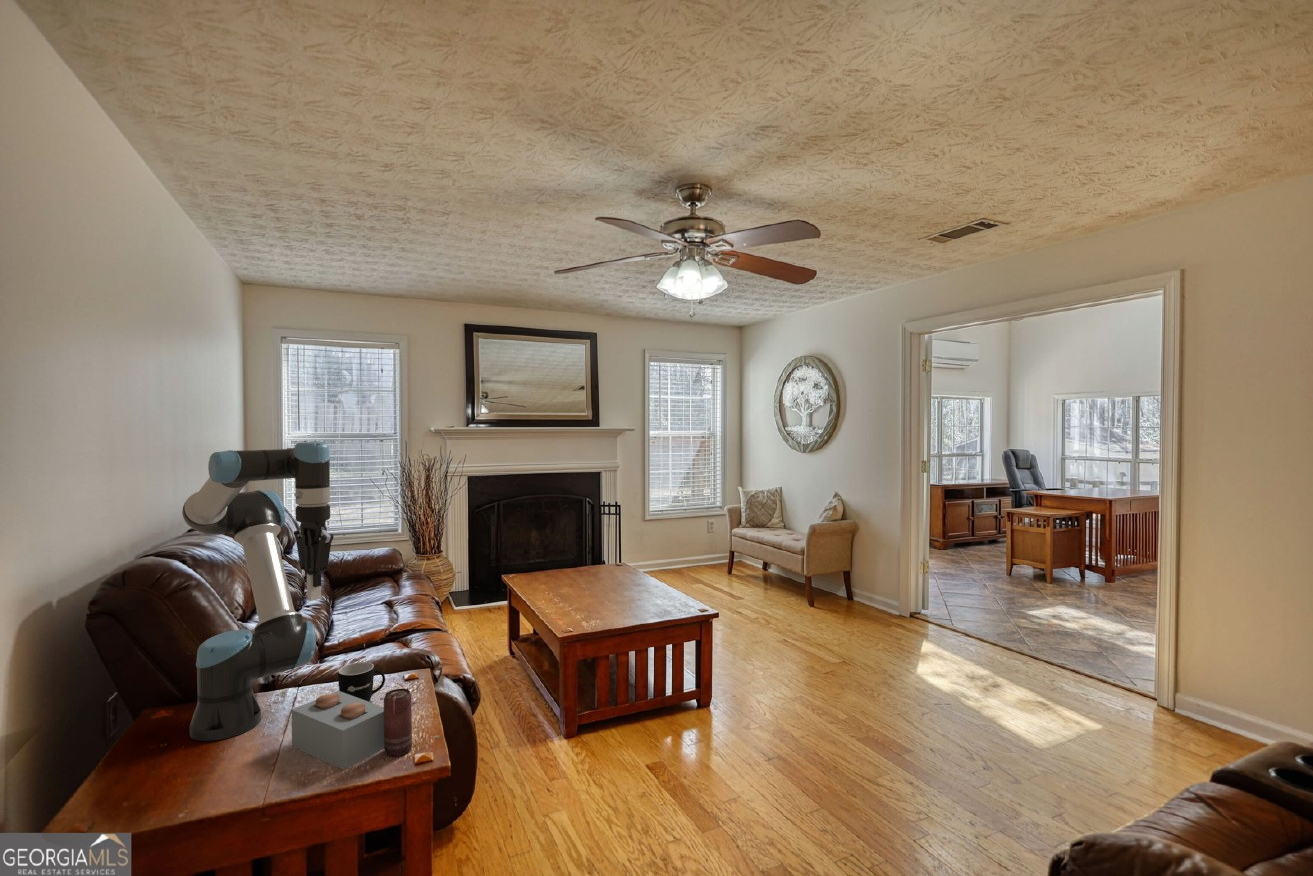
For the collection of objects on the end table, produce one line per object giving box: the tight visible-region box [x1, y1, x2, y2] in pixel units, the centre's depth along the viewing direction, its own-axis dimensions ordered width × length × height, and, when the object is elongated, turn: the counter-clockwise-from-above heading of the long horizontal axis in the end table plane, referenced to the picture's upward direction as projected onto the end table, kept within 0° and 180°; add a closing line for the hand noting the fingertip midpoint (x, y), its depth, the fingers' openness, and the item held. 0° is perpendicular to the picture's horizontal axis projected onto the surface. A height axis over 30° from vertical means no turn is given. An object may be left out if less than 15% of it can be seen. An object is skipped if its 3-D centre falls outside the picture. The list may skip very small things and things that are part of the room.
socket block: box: [291, 690, 384, 770], centre depth 151 cm, size 20×12×9 cm, turn 60°
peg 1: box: [315, 693, 340, 710], centre depth 153 cm, size 5×5×10 cm
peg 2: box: [341, 703, 365, 721], centre depth 149 cm, size 5×5×10 cm
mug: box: [337, 661, 386, 702], centre depth 174 cm, size 12×9×10 cm
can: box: [383, 688, 413, 758], centre depth 149 cm, size 6×6×14 cm
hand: (314, 599), depth 155 cm, fingers closed
